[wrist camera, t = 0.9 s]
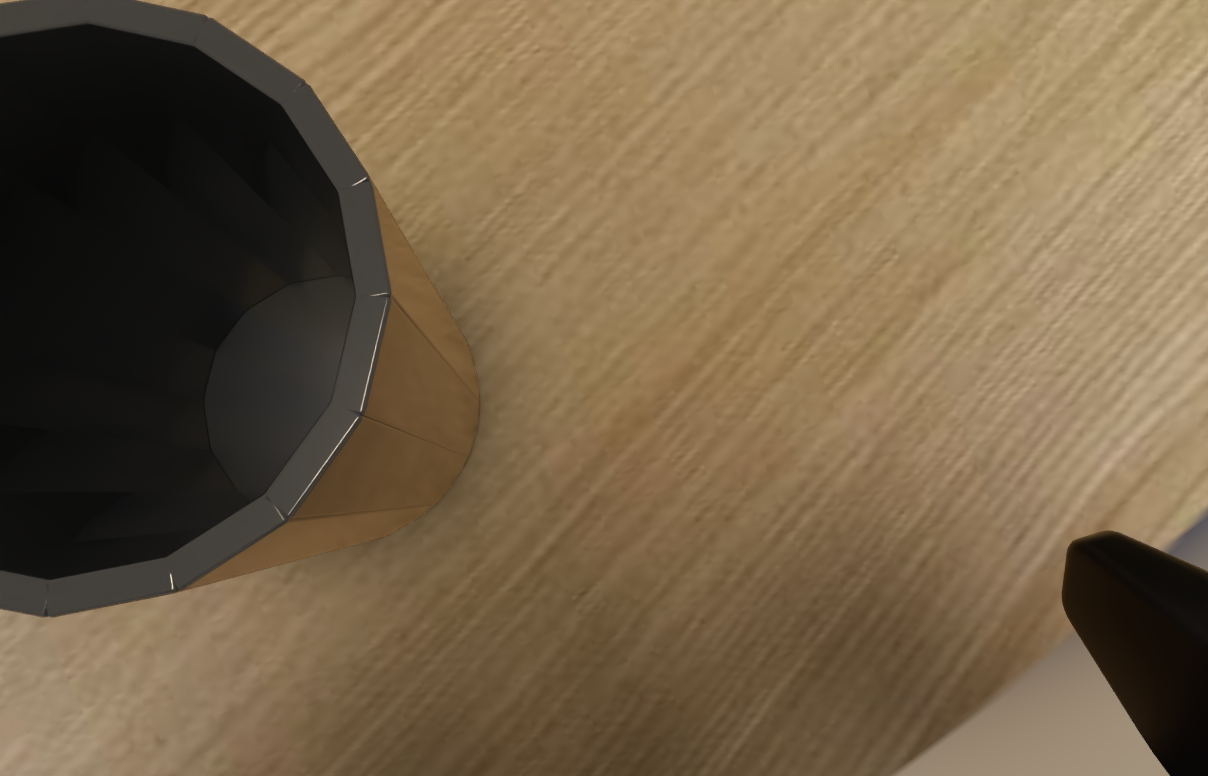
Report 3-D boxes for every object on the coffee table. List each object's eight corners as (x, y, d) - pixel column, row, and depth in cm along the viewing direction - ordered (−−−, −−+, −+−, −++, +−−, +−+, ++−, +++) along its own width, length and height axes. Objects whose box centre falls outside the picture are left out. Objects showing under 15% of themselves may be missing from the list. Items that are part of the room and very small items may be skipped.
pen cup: (532, 443, 23) (504, 381, 10) (295, 598, 22) (-58, 743, 9) (385, 218, 24) (180, -113, 11) (148, 364, 23) (-381, 199, 10)
